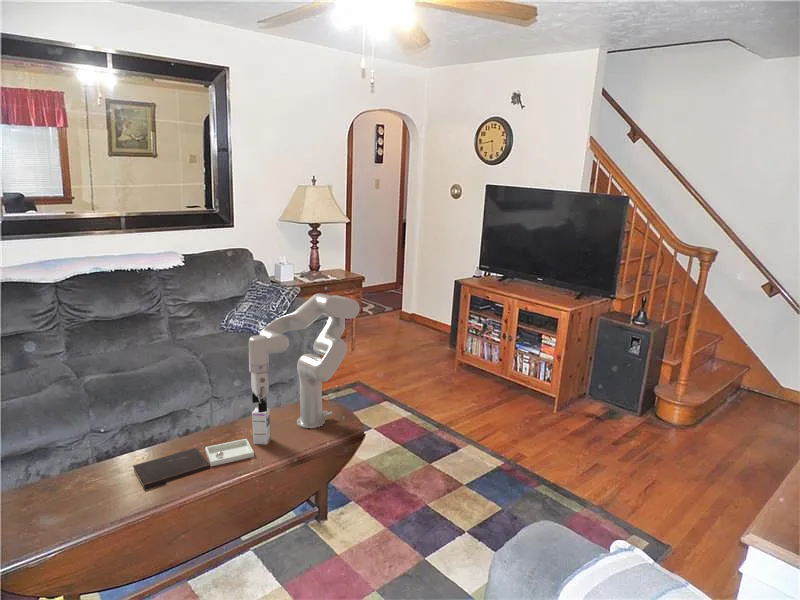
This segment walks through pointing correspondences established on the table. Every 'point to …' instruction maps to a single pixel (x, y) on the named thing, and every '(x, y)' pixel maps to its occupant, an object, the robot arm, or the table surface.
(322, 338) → the robot arm
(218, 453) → the mixing ball
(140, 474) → the hardcover book
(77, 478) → the table surface
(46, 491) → the table surface
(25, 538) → the table surface
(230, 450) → the tray
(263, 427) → the syrup box
